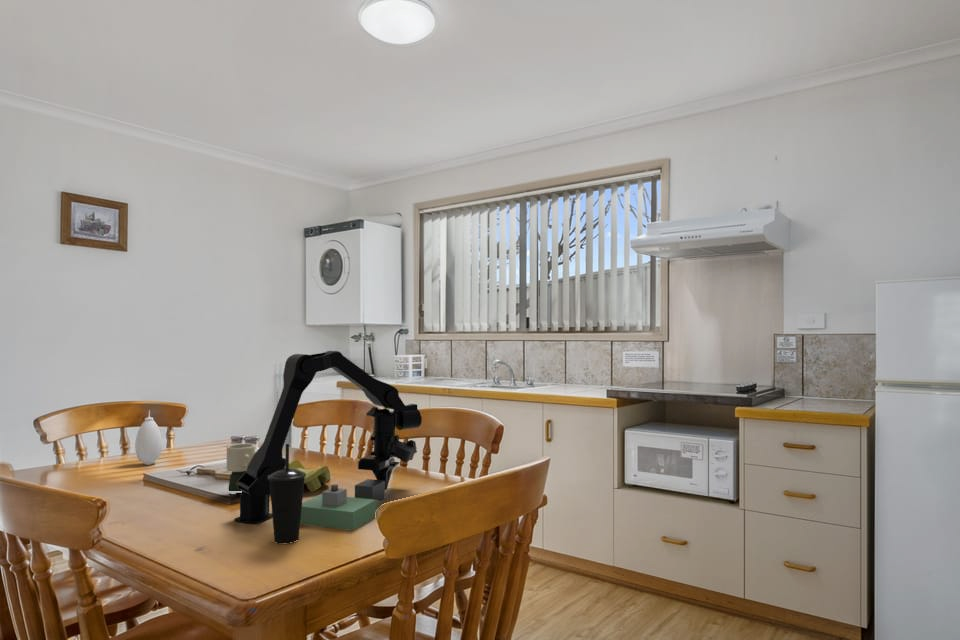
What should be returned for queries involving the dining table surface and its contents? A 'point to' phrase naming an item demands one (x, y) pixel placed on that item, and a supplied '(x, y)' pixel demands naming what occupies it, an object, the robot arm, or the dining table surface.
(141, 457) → the white bulb air blower
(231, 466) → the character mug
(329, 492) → the green base with blocks
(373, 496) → the charcoal rectangular prism
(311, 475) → the plastic component
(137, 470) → the dining table surface
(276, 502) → the drinking cup
